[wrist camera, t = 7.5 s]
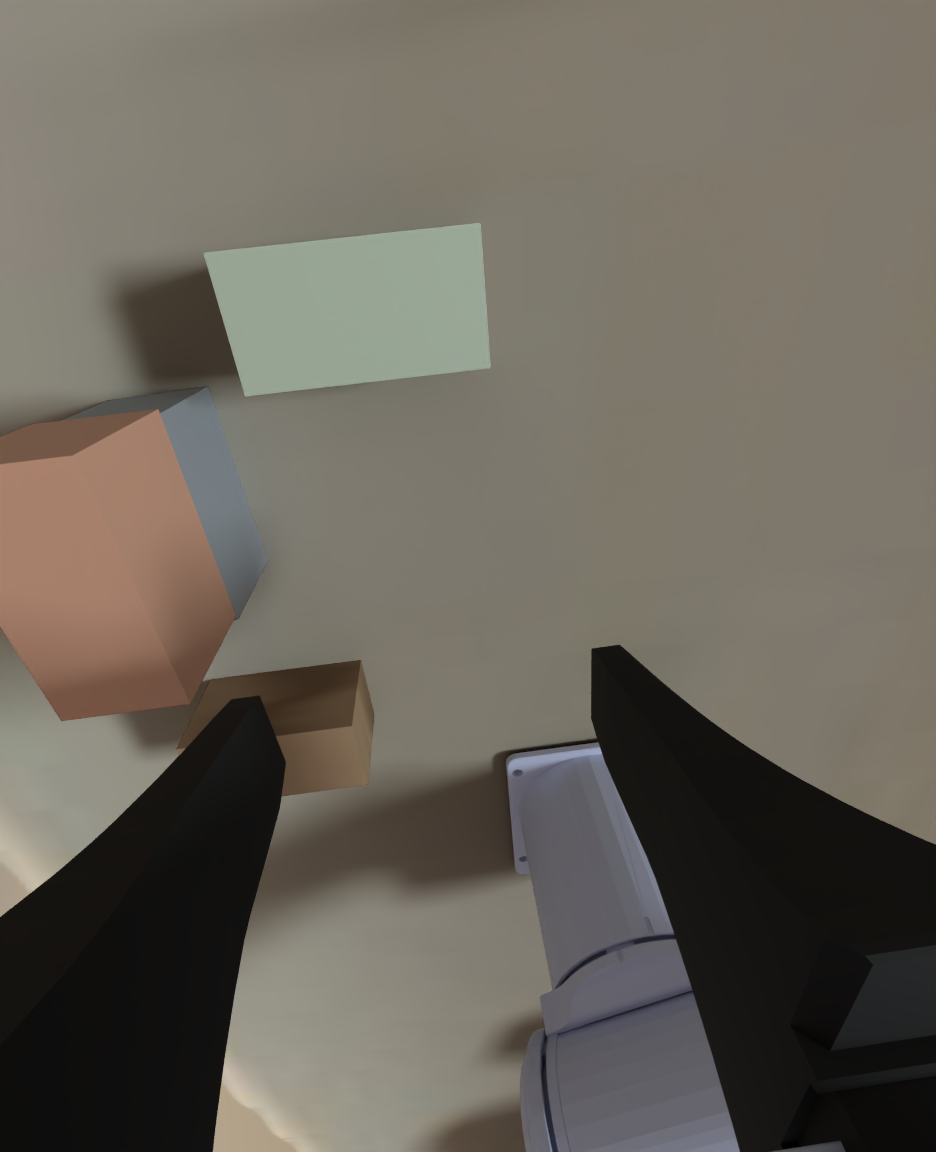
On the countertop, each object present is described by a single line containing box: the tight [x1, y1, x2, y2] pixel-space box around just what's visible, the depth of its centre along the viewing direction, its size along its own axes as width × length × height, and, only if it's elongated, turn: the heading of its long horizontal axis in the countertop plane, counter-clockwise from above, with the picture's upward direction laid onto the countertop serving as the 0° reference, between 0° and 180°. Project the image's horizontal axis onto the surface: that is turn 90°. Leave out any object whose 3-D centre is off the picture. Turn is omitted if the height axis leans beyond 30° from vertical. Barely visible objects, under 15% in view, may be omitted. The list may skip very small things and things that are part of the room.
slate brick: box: [61, 387, 268, 620], centre depth 17 cm, size 6×3×4 cm, turn 7°
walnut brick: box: [176, 660, 374, 796], centre depth 22 cm, size 6×3×4 cm, turn 95°
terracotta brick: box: [0, 409, 236, 721], centre depth 14 cm, size 6×3×4 cm, turn 6°
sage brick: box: [204, 223, 491, 396], centre depth 15 cm, size 6×3×4 cm, turn 96°
